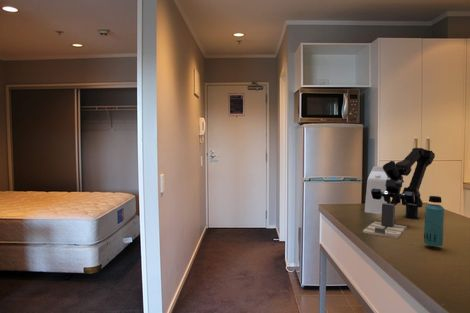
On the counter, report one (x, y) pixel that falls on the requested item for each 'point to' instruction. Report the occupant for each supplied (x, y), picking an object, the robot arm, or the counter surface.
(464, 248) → the counter surface
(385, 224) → the fader cap
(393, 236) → the console panel
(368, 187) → the milk
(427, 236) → the beverage bottle
